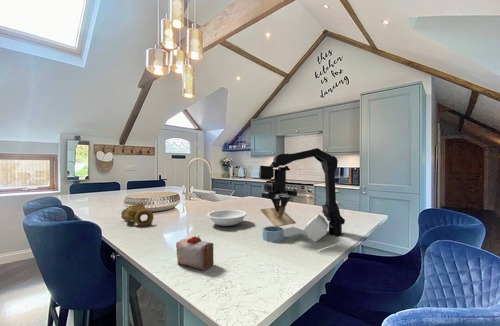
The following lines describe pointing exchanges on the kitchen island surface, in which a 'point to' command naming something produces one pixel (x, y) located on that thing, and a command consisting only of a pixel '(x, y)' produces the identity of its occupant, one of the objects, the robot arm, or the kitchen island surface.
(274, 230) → the ceramic bowl
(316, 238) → the milk carton
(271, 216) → the oak lid
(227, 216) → the soup bowl
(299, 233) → the rubber mat
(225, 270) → the kitchen island surface
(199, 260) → the food item
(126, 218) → the brown looped sculpture
